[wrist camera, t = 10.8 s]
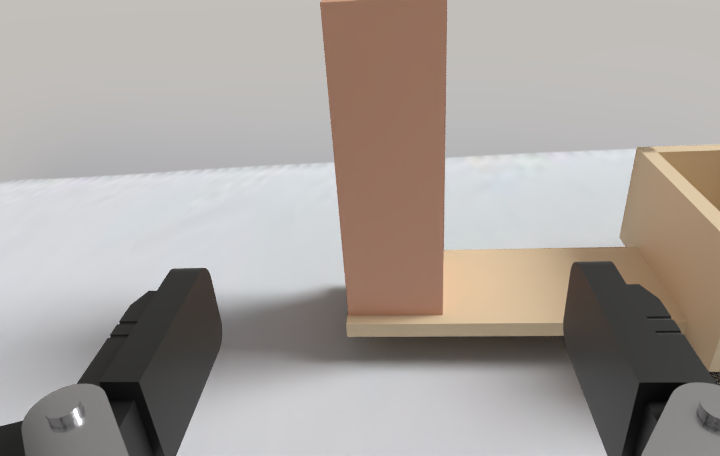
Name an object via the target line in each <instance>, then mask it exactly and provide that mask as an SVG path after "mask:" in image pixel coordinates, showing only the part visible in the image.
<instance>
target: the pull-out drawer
mask: <svg viewBox="0 0 720 456" xmlns="http://www.w3.org/2000/svg"><path fill="white" fill-rule="evenodd" d="M320 7H321V18H322V29H323V40H324V51H325V62H326V73H327V84H328V95H329V106H330V117H331V128H332V139H333V150H334V162H335V173H336V184H337V195H338V206H339V217H340V228H341V239H342V250H343V261H344V272H345V283H346V294H347V305H348V313H347V321H346V330H347V337H446V336H564V333H563V319H564V312H565V305H566V298H567V291H568V284H569V277H570V271H571V267H572V264H573V263H574V262H592V261H611V262H613V263H614V265H615V266H616V268H617V269H618V271H619V273H620V274H621V276H622V278H623V279H624V281H625V282H626V284H640V285H641V286H642V287H644V288H645V289H647V290H648V291H649V292H651V293H652V294H654V295H655V296H656V297H658V298H659V299H660V300H661V302H662V303H663V305H664V306H665V308H666V309H667V311H668V312H669V314H670V315H671V319H672V320H674V321H675V323H676V324H677V325H678V327H679V328H680V330H681V334H684V335H685V337H686V338H687V340H688V341H689V343H690V344H691V346H692V347H693V349H694V350H695V352H696V353H697V355H698V356H699V358H700V359H701V361H702V363H703V364H704V366H705V367H706V369H707V370H708V372H720V145H692V146H662V147H637V150H636V155H635V160H634V165H633V170H632V175H631V181H630V186H629V191H628V196H627V201H626V206H625V212H624V217H623V222H622V227H621V232H620V239H621V240H622V242H623V243H624V245H625V246H626V247H597V248H542V249H488V250H444V187H445V115H446V111H445V110H446V108H445V107H446V42H447V38H446V37H447V0H322V1H321V2H320Z"/></svg>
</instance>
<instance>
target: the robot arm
mask: <svg viewBox="0 0 720 456" xmlns="http://www.w3.org/2000/svg"><path fill="white" fill-rule="evenodd" d="M119 322H120V324H119V325H117V326H116V327H115V329H114V330H113V332H112V333H111V334H110V335H111V337H110V338H108V339H107V340H106V342H105V343H104V345H103V346H102V348H101V349H100V351H99V352H98V354H97V355H96V356H95V358H94V359H93V361H92V362H91V364H90V365H89V367H88V368H87V370H86V371H85V373H84V374H83V376H82V377H81V378H80V380H79V381H78V383H77V384H75V385H70V386H67V387H64V388H61V389H58V390H56V391H54V392H52V393H50V394H49V395H47V396H45V397H44V398H43V399H41V400H40V401H39V402H37V403H36V404H35V405H34V406H33V407H32V408H31V409H30V410H29V412H28V413H27V415H26V416H25V418H24V420H23V421H20V422H16V423H12V424H8V425H4V426H0V456H176V454H177V452H178V450H179V447H180V445H181V442H182V440H183V437H184V435H185V432H186V430H187V428H188V425H189V423H190V420H191V418H192V415H193V413H194V410H195V408H196V406H197V403H198V401H199V398H200V396H201V393H202V391H203V389H204V386H205V384H206V381H207V379H208V376H209V374H210V371H211V369H212V367H213V364H214V362H215V359H216V357H217V354H218V352H219V349H220V346H221V340H222V324H221V319H220V314H219V310H218V306H217V301H216V297H215V293H214V288H213V284H212V280H211V276H210V273H209V271H208V270H207V269H206V268H184V269H172V270H170V272H169V273H168V275H167V276H166V278H165V279H164V281H163V282H162V284H161V286H160V287H159V289H158V290H157V291H148V292H147V293H146V294H144V295H143V296H142V297H140V298H139V299H138V300H137V301H135V302H134V303H133V304H131V305H130V307H129V308H128V310H127V311H126V312H125V314H124V315H123V317H122V318H121V320H120V321H119ZM563 333H564V341H565V345H566V349H567V351H568V354H569V356H570V359H571V362H572V364H573V367H574V370H575V372H576V375H577V377H578V380H579V383H580V385H581V388H582V390H583V393H584V396H585V398H586V401H587V403H588V406H589V409H590V411H591V414H592V416H593V419H594V422H595V424H596V427H597V429H598V432H599V435H600V437H601V440H602V442H603V445H604V448H605V450H606V453H607V456H720V386H719V385H717V383H716V382H715V380H714V379H713V377H712V376H711V374H710V373H709V372H708V370H707V369H706V367H705V366H704V364H703V363H702V361H701V360H700V358H699V357H698V355H697V354H696V352H695V351H694V349H693V348H692V346H691V345H690V343H689V342H688V340H687V339H686V337H685V336H684V334H681V330H680V328H679V327H678V325H677V324H676V323H675V321H674V320H672V319H671V315H670V314H669V312H668V311H667V309H666V308H665V306H664V305H663V303H662V302H661V300H660V299H659V298H658V297H656V296H655V295H654V294H652V293H651V292H649V291H648V290H647V289H645V288H644V287H642V286H641V285H640V284H626V282H625V281H624V279H623V278H622V276H621V274H620V273H619V271H618V269H617V268H616V266H615V265H614V263H613V262H611V261H592V262H574V263H573V264H572V267H571V271H570V277H569V284H568V291H567V298H566V305H565V312H564V319H563Z"/></svg>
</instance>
